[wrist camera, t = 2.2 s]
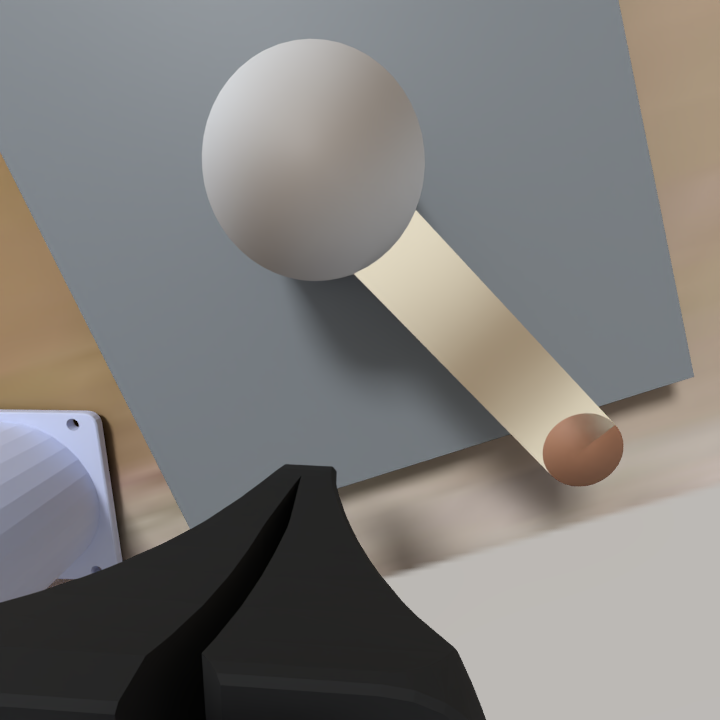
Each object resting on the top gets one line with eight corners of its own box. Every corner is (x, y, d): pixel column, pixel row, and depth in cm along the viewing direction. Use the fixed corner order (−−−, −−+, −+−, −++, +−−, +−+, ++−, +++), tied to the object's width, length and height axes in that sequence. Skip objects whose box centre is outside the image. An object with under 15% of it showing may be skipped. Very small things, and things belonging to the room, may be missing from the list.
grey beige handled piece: (226, 200, 14) (156, 168, 9) (330, 78, 13) (308, -20, 8) (487, 460, 15) (531, 535, 11) (595, 369, 14) (690, 412, 10)
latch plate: (207, 512, 18) (192, 533, 17) (-30, 29, 14) (-75, 2, 13) (664, 366, 16) (694, 376, 15) (532, -249, 12) (553, -320, 11)
